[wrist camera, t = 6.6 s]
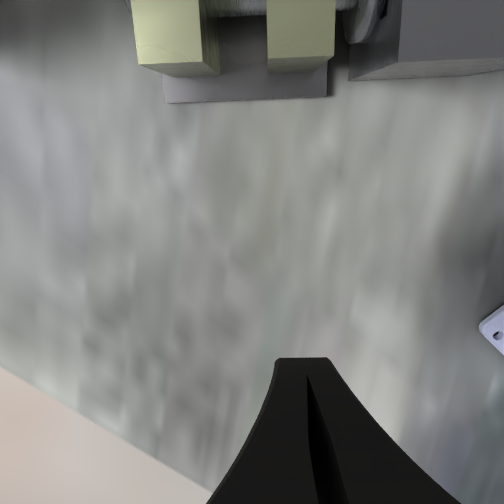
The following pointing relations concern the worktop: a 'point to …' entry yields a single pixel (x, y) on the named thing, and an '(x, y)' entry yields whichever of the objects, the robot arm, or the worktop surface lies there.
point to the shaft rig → (246, 45)
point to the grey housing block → (432, 40)
